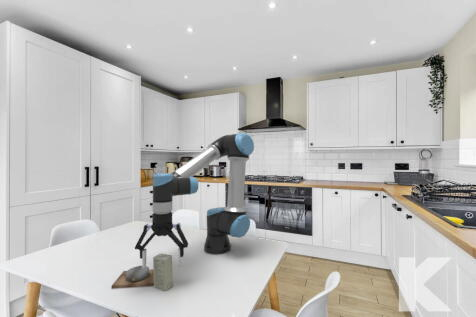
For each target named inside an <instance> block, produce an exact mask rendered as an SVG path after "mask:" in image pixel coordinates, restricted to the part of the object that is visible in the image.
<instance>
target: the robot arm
mask: <svg viewBox="0 0 476 317" xmlns="http://www.w3.org/2000/svg"><path fill="white" fill-rule="evenodd" d="M254 149H255V142H254V140H253V139H252V137H251V136H250V135H249V133H244V132H242V133H241V132H239V133H234V134H226V135H223V136H221V137H219V138H217V139H216V140H214V141H213V142H211V143H209V144H208V145H207V147H206V149H205V150H203V151H202V152H200V153H198V154H197V155H195V156H194V157H193V158H192V159H190V160H188V161H187V162H185V163H184V164H182V165H181V166H180V167H179V168H177V169H175V170H174V171H173V172H171V173H169V172H168V173H166V172H164V173H160V172H159V173H154V175H153V176H152V212H153V213H152V217H151V218H152V221H151V222H152V224H149V223H145V224H144V226H143V229H142V230H143V231H142V232H141V235H140V237H139V239H138V240H137V242H136V245H135V246H134V249H135V250H139V259H141V264H142V265H141V266H142V268H145V266H147V248H146V247H147V246H148V244H149V243H150V242H151V241H152V240H153V239H154V237H155V236H157V237H166V236H168V237H169V238H170V239H171V240H172V241H173V243H174V244H175V245H176V246H177V247H178V249H177V250H178V251H177V267H181V264H182V258H183V257H184V254H185V250H184V249H185V248H188V246H189V241H188V240H187V238H186V236H185V234H184V232H183V230H182V228H181V223H179V222H178V223H175V224H173V197H176V196H185V195H189V196H190V195H192V194H193V195H194V194H196V193H198V191H199V181H198V179H197V178H196V177H194V176H196V174H198V173H199V172H201V171H202V170H203V169H204V168H206V167H207V166H209V165H210V164H211V163H212V162H214V161H217V160H219V159H221V158H222V157H226V156H227V160H228V161H229V172H228V186H227V187H228V189H227V204H226V207H225V206H224V207H223V206H222V207H213V208H209V209H208V210H207V211H206V238H205V242H204V244H203V251H204V252H205V253H206V254H210V255H220V254H226V253H228V252H230V251H231V248H232V245H231V242H230V238H229V236H231V237H233V238H238V239H239V238H243V237H244V236H246V234H247V233H248V232H249V229H250V227H251V226H250V225H251V219H250V217H249V216H248V215H247V210H246V208H245V206H244V204H245V202H244V201H245V185H246V167H247V166H246V165H247V162H248V160H250V155H251V154H253V152H254V151H255V150H254ZM173 229H174V230H175V231H176V233H177V235H178V236H179V238H180V239H179V238H178V236H177V235H176V234H175V233H174V231H173ZM150 230H151V231H152V232H153V233H151V234H150V236H149V237H148V238H147V239H146V241H145V242H144V243H143V241H144V239H145V237H146V236H147V233H148V232H149V231H150ZM142 243H143V244H142ZM141 244H142V245H141Z"/></svg>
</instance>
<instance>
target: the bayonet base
mask: <svg viewBox="0 0 476 317" xmlns="http://www.w3.org/2000/svg"><path fill="white" fill-rule="evenodd" d="M144 287H154V268H152V269H151V268H149V266H147V265H146V266H145V268H142V265H137V266H133V267H130V268H129V269H127V270H123V272H121V274H120V275H119V276H118V277H117V278H116V280H114V282H113V283H112V285H111V290H113V289H115V290H116V289H129V288H144Z"/></svg>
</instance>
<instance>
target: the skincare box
mask: <svg viewBox="0 0 476 317" xmlns="http://www.w3.org/2000/svg"><path fill="white" fill-rule="evenodd" d="M152 258H153V259H152V264H153V269H154V286H153V288H154V289H156V290H157V289H158V290H162V291H167V290H169V289H170V288H171V287H172V286H173V285H174V281H173V280H174V278H173V274H174V273H173V255H172V254H165V253H159V254H157V255H155V256H154V257H152Z"/></svg>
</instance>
